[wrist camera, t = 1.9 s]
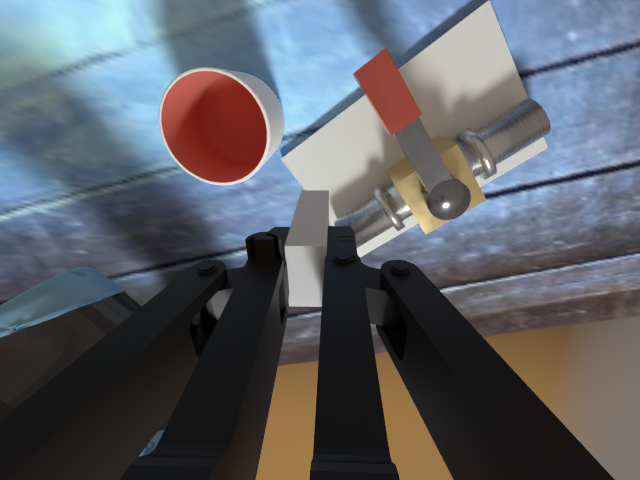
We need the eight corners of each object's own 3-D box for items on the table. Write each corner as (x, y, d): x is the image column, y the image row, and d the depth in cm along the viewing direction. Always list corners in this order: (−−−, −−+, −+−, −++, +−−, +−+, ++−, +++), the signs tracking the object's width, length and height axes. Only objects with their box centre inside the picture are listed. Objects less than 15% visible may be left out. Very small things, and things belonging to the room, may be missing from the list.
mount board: (357, 255, 44) (357, 258, 43) (282, 157, 38) (281, 159, 37) (542, 146, 36) (547, 147, 35) (484, 2, 30) (489, -1, 29)
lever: (469, 199, 31) (478, 206, 29) (434, 219, 32) (439, 227, 31) (387, 46, 26) (391, 43, 24) (347, 77, 27) (348, 77, 25)
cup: (283, 72, 34) (265, 66, 25) (287, 163, 38) (274, 186, 29) (194, 72, 34) (145, 66, 25) (209, 162, 38) (171, 185, 30)
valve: (357, 244, 43) (361, 273, 36) (328, 206, 40) (327, 229, 34) (530, 140, 36) (575, 153, 29) (507, 86, 33) (551, 86, 27)
